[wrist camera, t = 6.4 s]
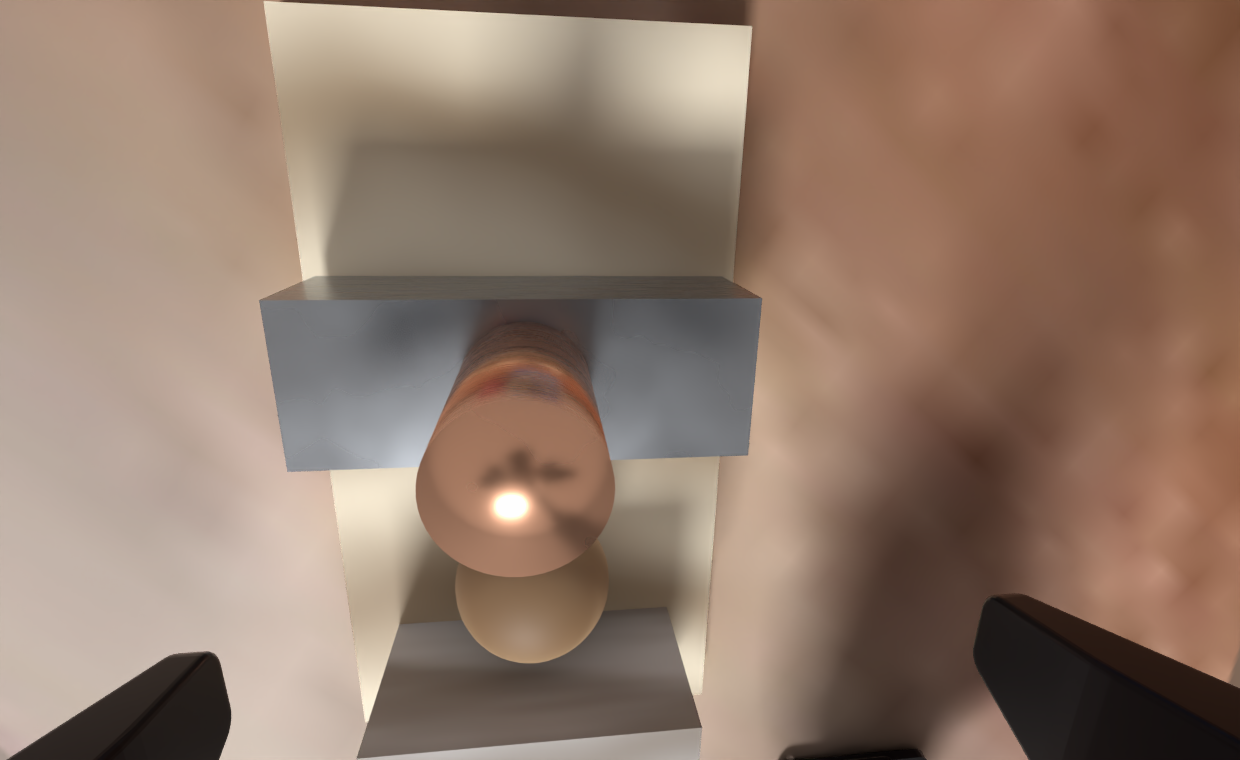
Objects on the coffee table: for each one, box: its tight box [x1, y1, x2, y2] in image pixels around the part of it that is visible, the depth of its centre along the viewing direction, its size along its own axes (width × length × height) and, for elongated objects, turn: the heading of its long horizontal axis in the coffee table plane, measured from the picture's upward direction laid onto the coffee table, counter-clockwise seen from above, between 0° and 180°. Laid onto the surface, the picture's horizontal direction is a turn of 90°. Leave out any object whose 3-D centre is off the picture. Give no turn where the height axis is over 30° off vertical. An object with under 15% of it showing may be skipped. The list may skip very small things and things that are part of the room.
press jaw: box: [259, 276, 762, 577], centre depth 13 cm, size 4×11×9 cm, turn 89°
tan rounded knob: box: [455, 539, 609, 663], centre depth 18 cm, size 4×4×4 cm
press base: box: [264, 1, 752, 760], centre depth 17 cm, size 22×12×6 cm, turn 179°
